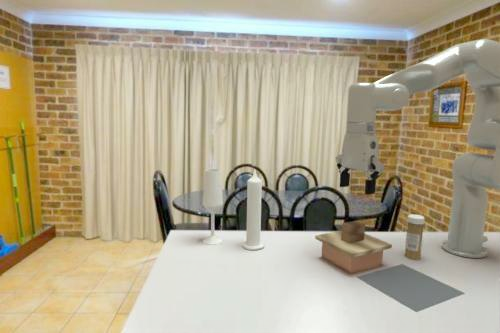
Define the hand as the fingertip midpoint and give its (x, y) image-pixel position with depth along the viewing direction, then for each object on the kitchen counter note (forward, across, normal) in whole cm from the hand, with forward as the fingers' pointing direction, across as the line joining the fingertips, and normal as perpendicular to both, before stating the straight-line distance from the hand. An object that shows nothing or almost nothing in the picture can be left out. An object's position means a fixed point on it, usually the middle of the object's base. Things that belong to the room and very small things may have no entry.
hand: (356, 190), depth 98 cm
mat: (+22, -17, -3) cm, 28 cm away
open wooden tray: (+22, 0, 0) cm, 22 cm away
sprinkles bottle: (+22, -6, -19) cm, 29 cm away
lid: (+16, 0, 0) cm, 16 cm away
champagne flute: (+22, +33, +30) cm, 50 cm away
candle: (+22, +23, +20) cm, 38 cm away
